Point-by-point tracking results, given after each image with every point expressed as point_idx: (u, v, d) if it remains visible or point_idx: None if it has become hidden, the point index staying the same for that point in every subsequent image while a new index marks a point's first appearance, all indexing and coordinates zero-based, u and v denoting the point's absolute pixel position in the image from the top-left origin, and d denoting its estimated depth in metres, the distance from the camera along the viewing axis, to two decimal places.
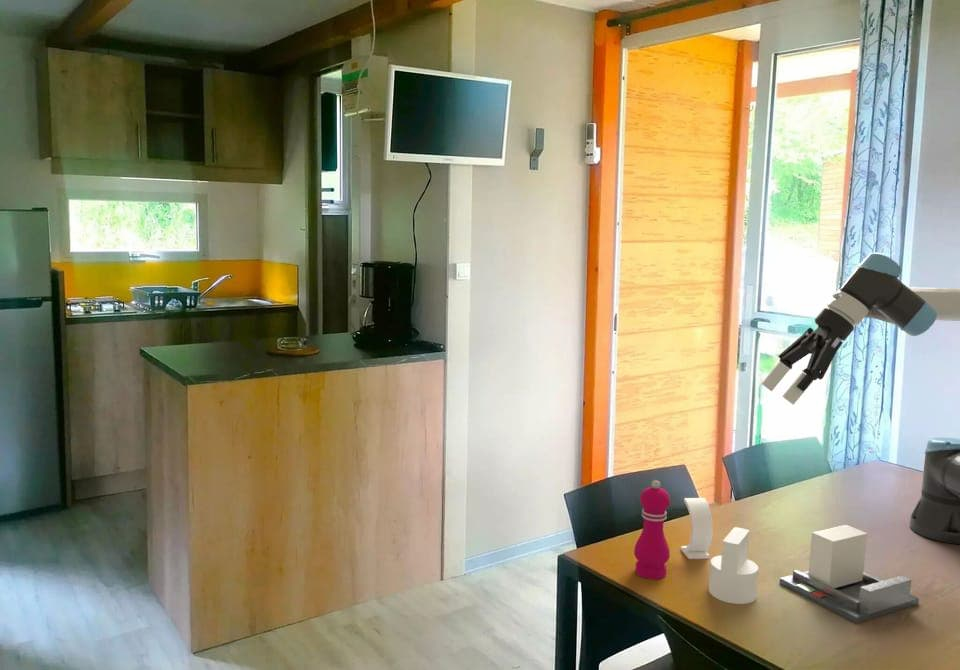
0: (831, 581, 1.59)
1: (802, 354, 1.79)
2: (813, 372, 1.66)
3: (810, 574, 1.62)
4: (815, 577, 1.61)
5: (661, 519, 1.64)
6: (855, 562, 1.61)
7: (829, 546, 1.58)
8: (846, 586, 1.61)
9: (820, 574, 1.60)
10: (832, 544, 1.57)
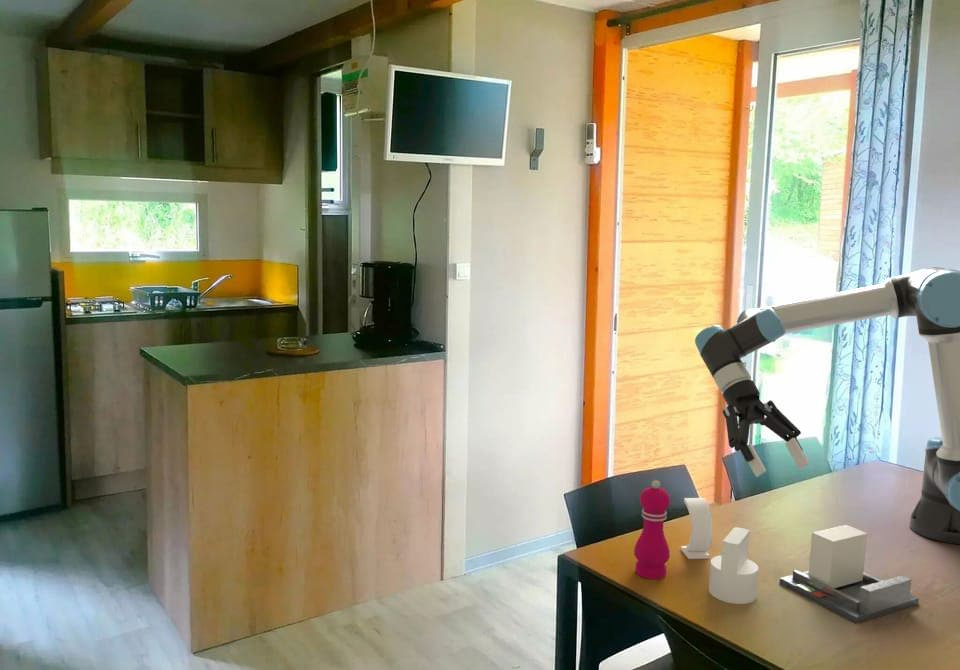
0: (831, 581, 1.59)
1: (773, 425, 1.81)
2: (730, 446, 1.74)
3: (810, 574, 1.62)
4: (815, 577, 1.61)
5: (661, 519, 1.64)
6: (855, 562, 1.61)
7: (829, 546, 1.58)
8: (846, 586, 1.61)
9: (820, 574, 1.60)
10: (832, 544, 1.57)
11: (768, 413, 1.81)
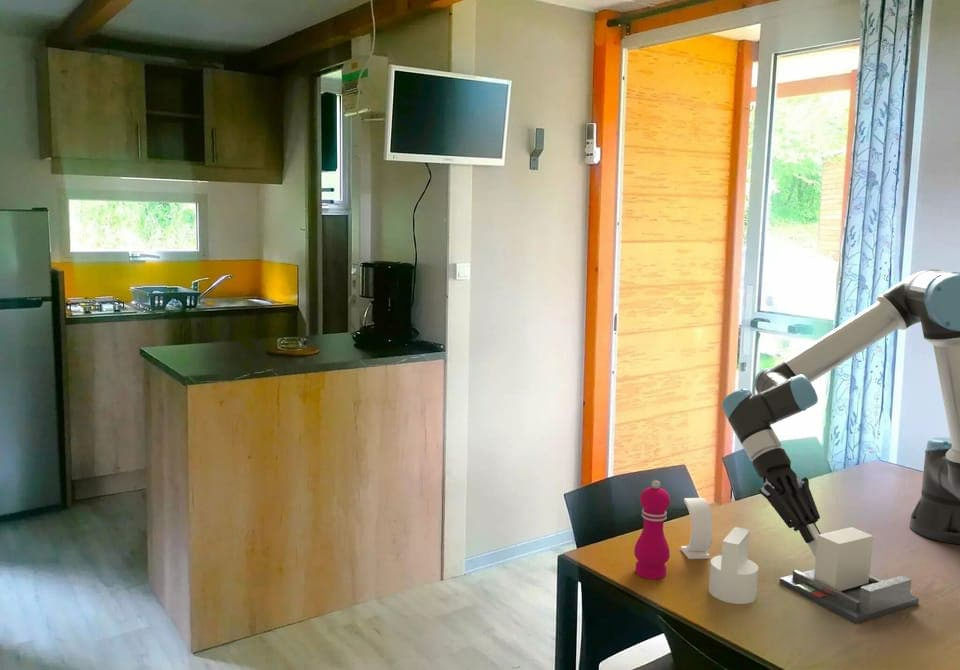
0: (836, 584, 1.57)
1: (797, 501, 1.72)
2: (790, 527, 1.68)
3: (815, 577, 1.61)
4: (821, 580, 1.60)
5: (661, 519, 1.64)
6: (861, 565, 1.60)
7: (834, 548, 1.57)
8: None
9: (826, 577, 1.59)
10: (838, 546, 1.56)
11: (796, 487, 1.72)
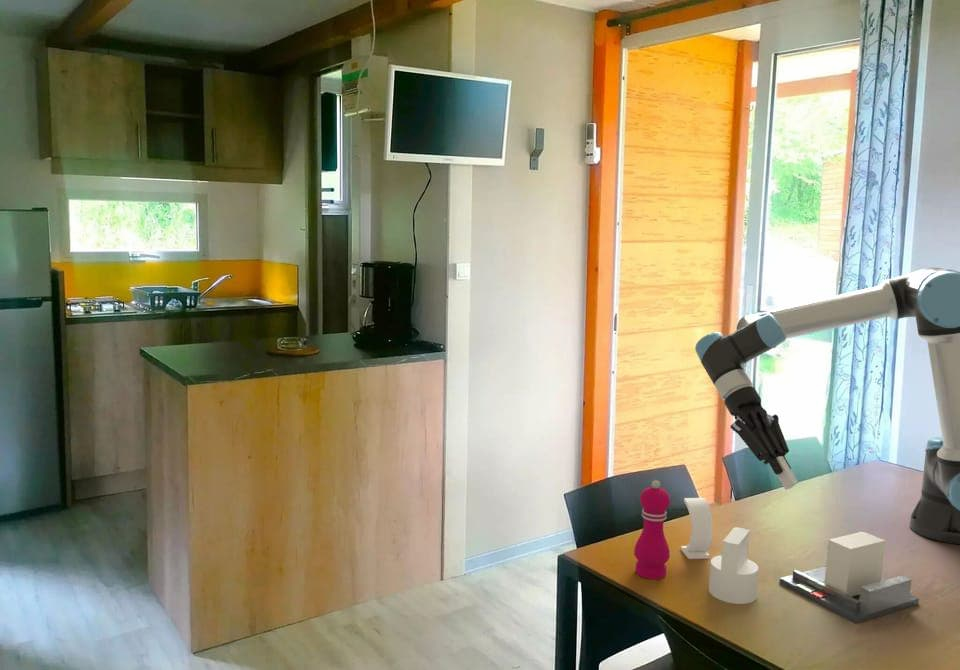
0: (848, 590, 1.55)
1: (767, 436, 1.78)
2: (761, 460, 1.75)
3: (826, 582, 1.59)
4: (832, 585, 1.58)
5: (661, 519, 1.64)
6: (873, 570, 1.58)
7: (846, 553, 1.55)
8: None
9: (837, 582, 1.57)
10: (850, 551, 1.54)
11: (766, 422, 1.79)
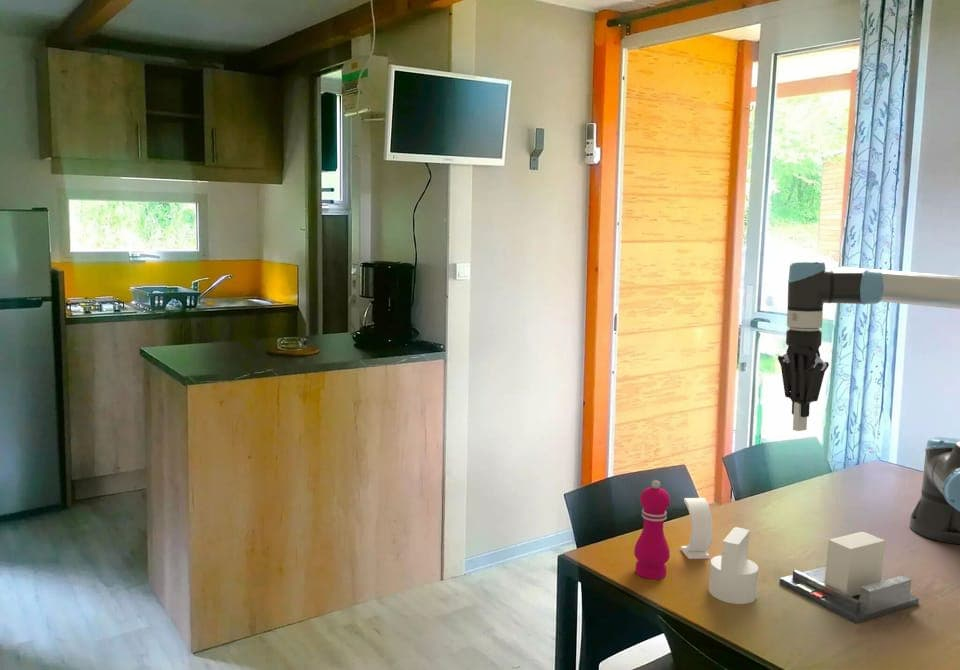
0: (848, 590, 1.55)
1: (800, 378, 1.86)
2: (809, 401, 1.83)
3: (826, 582, 1.59)
4: (832, 585, 1.58)
5: (661, 519, 1.64)
6: (873, 570, 1.58)
7: (846, 553, 1.55)
8: None
9: (837, 582, 1.57)
10: (850, 551, 1.54)
11: None
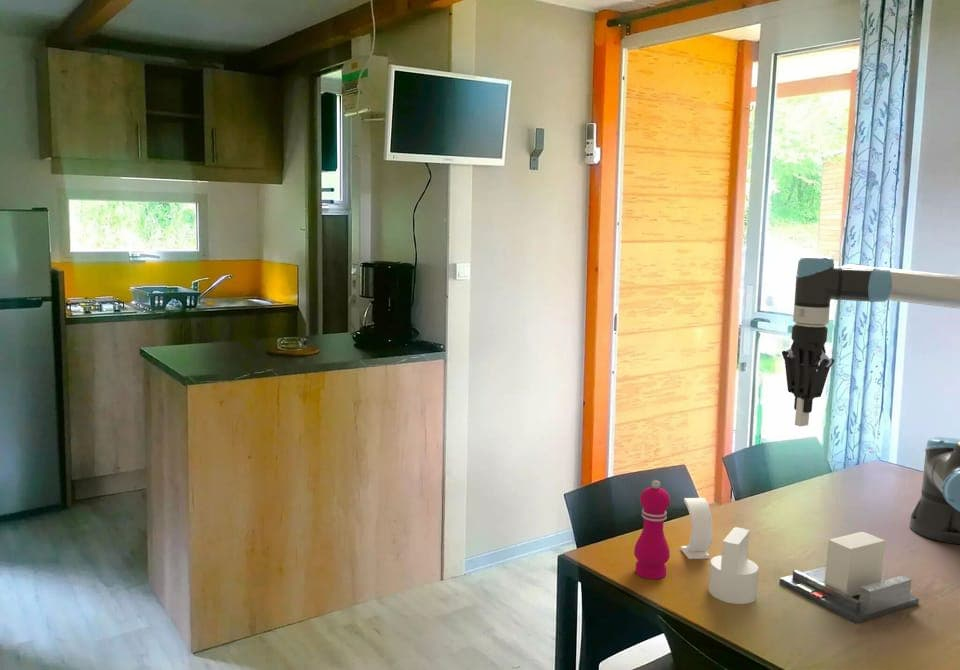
0: (848, 590, 1.55)
1: (804, 373, 1.86)
2: (812, 397, 1.83)
3: (826, 582, 1.59)
4: (832, 585, 1.58)
5: (661, 519, 1.64)
6: (873, 570, 1.58)
7: (846, 553, 1.55)
8: None
9: (837, 582, 1.57)
10: (850, 551, 1.54)
11: None
